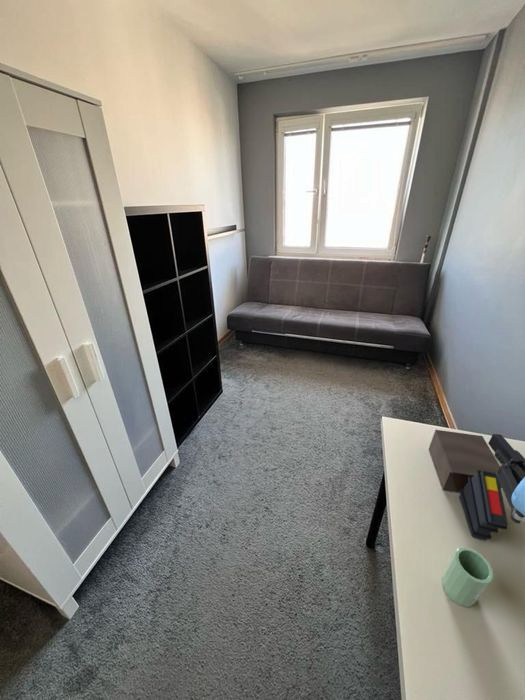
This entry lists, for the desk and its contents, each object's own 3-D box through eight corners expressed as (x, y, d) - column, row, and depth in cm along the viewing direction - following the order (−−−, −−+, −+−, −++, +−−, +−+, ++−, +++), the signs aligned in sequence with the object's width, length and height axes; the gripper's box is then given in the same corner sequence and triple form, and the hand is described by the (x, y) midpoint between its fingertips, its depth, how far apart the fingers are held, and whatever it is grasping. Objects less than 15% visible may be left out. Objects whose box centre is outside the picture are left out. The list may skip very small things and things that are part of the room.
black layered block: (470, 485, 76) (499, 472, 64) (479, 541, 69) (512, 538, 57) (455, 482, 77) (480, 468, 65) (461, 537, 70) (491, 533, 58)
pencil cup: (468, 575, 60) (484, 551, 55) (480, 611, 55) (499, 587, 50) (437, 568, 61) (450, 543, 56) (446, 602, 56) (461, 578, 51)
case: (494, 499, 74) (506, 480, 71) (442, 490, 77) (450, 471, 74) (472, 456, 87) (481, 437, 83) (428, 449, 90) (434, 431, 86)
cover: (507, 483, 70) (509, 481, 70) (451, 474, 73) (452, 472, 72) (481, 437, 83) (482, 435, 83) (434, 431, 86) (435, 429, 85)
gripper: (538, 584, 38) (454, 450, 59) (646, 596, 37) (521, 454, 58) (565, 556, 35) (465, 423, 55) (685, 568, 33) (537, 427, 54)
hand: (494, 439), depth 57 cm, fingers closed
